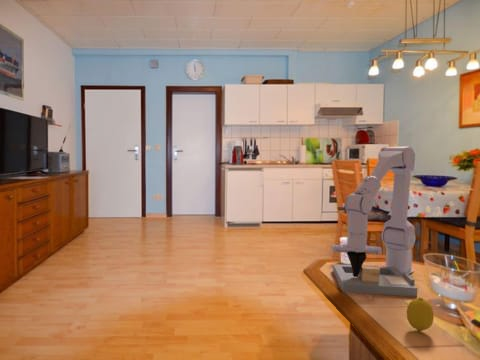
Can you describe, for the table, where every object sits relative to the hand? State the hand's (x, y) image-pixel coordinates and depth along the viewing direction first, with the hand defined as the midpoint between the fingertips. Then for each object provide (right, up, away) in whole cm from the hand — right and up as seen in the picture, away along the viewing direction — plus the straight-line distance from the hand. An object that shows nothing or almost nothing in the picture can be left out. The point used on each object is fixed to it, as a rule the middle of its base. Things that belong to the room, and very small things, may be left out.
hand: (355, 275), depth 113 cm
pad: (+12, -1, -1) cm, 13 cm away
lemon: (+6, -5, -29) cm, 30 cm away
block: (+4, -1, 0) cm, 4 cm away
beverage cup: (+5, -2, +26) cm, 27 cm away
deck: (+6, -3, +4) cm, 8 cm away
